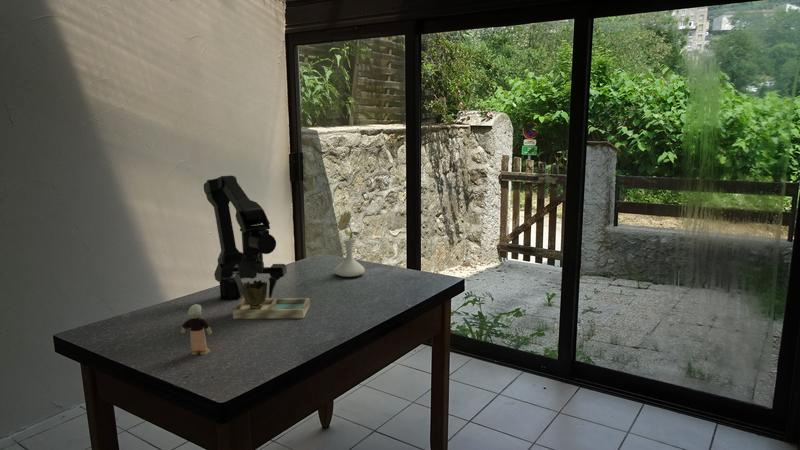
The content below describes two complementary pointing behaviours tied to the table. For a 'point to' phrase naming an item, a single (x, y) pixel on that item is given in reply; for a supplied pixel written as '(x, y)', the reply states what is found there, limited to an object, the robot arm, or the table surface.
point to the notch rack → (273, 309)
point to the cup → (255, 293)
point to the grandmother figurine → (197, 330)
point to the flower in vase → (348, 251)
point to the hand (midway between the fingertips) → (255, 298)
